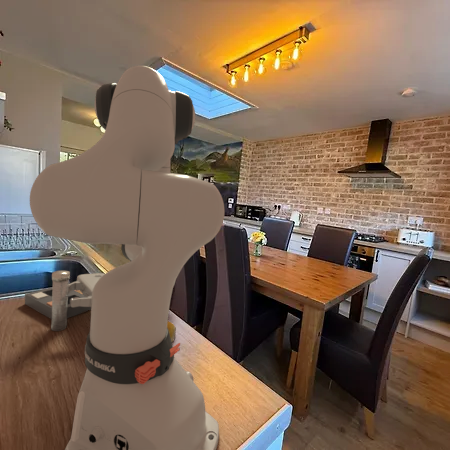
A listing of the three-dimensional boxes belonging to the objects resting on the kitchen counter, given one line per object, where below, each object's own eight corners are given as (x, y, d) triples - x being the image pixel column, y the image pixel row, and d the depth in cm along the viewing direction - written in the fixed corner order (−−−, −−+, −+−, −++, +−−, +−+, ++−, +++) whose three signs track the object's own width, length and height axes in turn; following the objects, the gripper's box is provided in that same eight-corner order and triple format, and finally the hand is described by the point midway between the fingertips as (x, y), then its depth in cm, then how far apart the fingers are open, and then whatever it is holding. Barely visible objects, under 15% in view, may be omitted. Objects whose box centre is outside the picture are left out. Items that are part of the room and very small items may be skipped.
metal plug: (70, 327, 64) (72, 273, 63) (55, 333, 61) (57, 276, 60) (62, 322, 66) (64, 269, 64) (47, 328, 63) (48, 272, 61)
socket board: (92, 308, 75) (93, 298, 74) (56, 322, 66) (56, 309, 65) (61, 294, 82) (61, 284, 82) (24, 304, 73) (25, 293, 73)
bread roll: (142, 328, 68) (143, 313, 67) (176, 330, 68) (178, 316, 68) (133, 346, 59) (134, 330, 59) (172, 348, 60) (174, 332, 60)
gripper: (109, 266, 80) (57, 271, 70) (138, 287, 65) (77, 298, 56) (108, 285, 81) (56, 293, 71) (136, 311, 66) (75, 325, 56)
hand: (65, 296), depth 63 cm, fingers open, 8 cm apart
